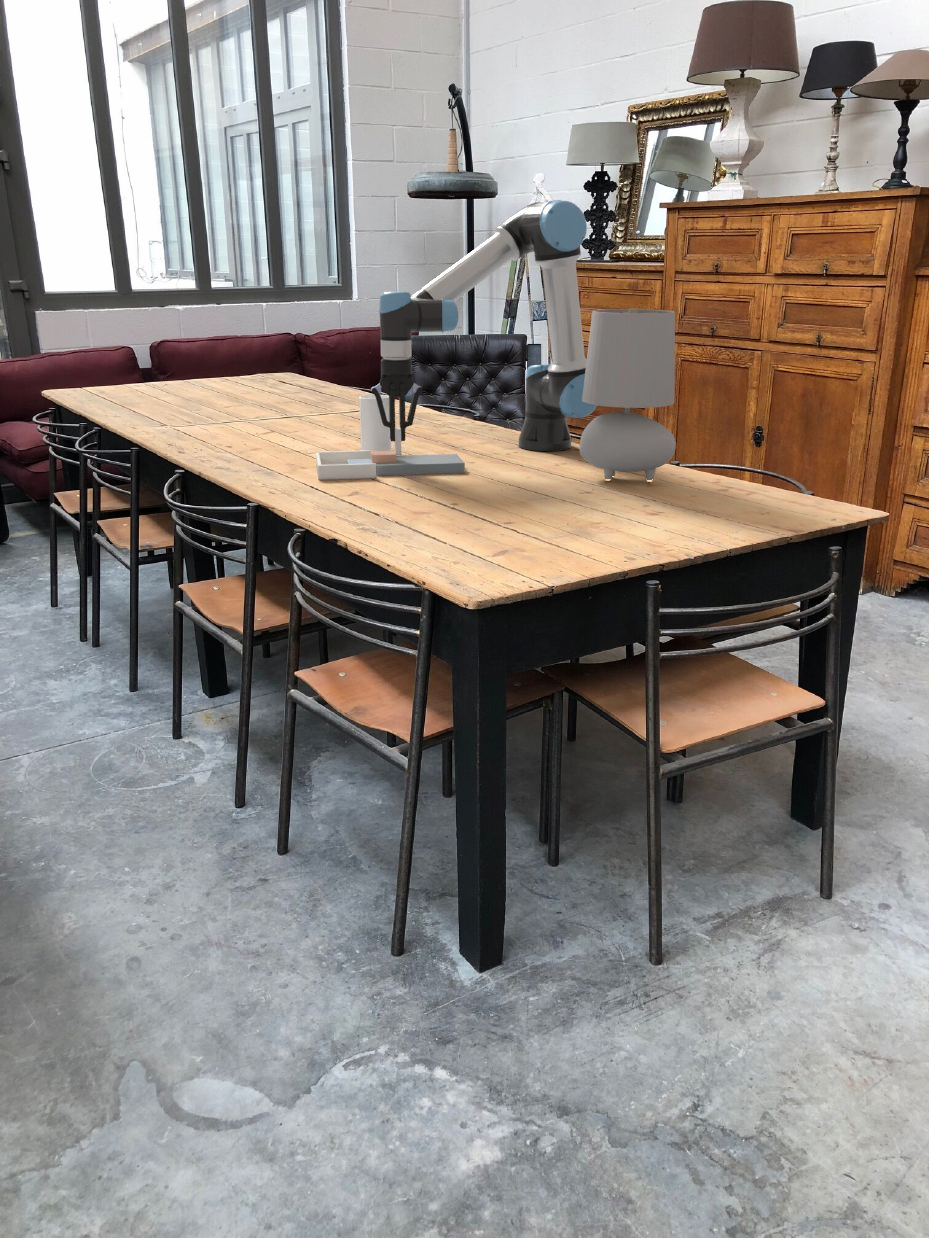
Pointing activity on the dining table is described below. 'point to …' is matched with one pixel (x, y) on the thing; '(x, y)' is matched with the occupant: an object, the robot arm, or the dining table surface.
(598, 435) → the table lamp
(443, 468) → the board
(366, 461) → the blue tile
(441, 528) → the dining table surface
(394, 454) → the terracotta tile
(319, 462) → the box
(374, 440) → the cup
